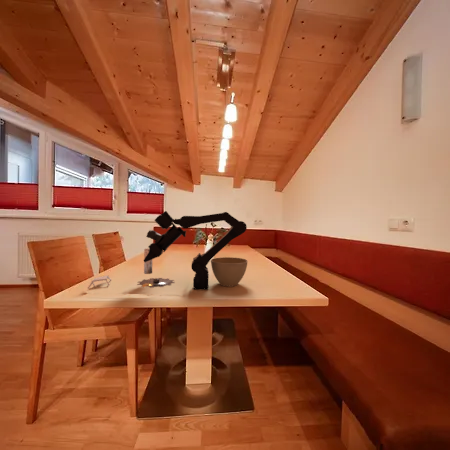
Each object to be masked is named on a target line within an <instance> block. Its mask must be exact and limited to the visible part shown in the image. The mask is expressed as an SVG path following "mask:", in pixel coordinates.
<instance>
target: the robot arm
mask: <svg viewBox="0 0 450 450" xmlns="http://www.w3.org/2000/svg"><path fill="white" fill-rule="evenodd" d="M222 221H224V222H225V223H227V224H228V225H229V226H230V227H229V229H228V230H227V232H226V233H225V234H224V235H223V236H222V237H221V238H220V239H219V240H218V241H217V242H215V243H214V244H213V245H211V247H210V248H209V249H208V250H207V251H205V252H203V254H201V252H198V254H197V255H196V256H195V257H193V258H192V261H191V270H192V271H193V272H194V273H195V274H194V276H193V283H192V285H193V290H209V280H210V279H209V268H208V267H207V265H208V264H209V263H210V262H211V259H214V258H215V256H216V255H217V254H218V253H219V252H220V251H221V250H223V248H225V247H227V245H228V244H229V243H230V242H232V240H234V239H235V238H237V237H240V236H241V235H243V234H244V233H245V232H247V230H248V229H247V228H248V227H247V224H246V223H245V222H244V221H242V220H241V221H240V220H238V219H237V218H236V217H234V216H232V215H231V214H230V213H229V212H227V211H224V212H220V213H213V214H207V215H206V214H205V215H183V216H181V217H180V218H173V217H172V216H171V215H170V214H169V212H168V211H166V210H165V211H164V212H162V213H161V214H159V215H158V216H157V217H155V219H154V222H155V223H156V224H157V225H158V226H159V227H160V228H161V229H162V230H166V232H164V233H162V234H160V233H158V232H157V231H155V230H154V229H149V230H148V232H147V233H146V235H145V236H146V237H145V238H147V239H150V240H151V239H152V240H153V241H154V242H152V243H150V244H149V245H148V247H147V248H148V249H150V251H149V253H148V254H147V256H146V257H145V259H144V258H143V263H144V262H147V261H149V260H152V261H153V260H154V259H156V258H159V257H160V256H162V255H163V253H165V252H166V251H167V250H168V248H170V246H172V245H173V243H175V242H176V241H177V240H178V239H179V238H180V237H181V236H182V237H184V238H186V236H187V230H184V229H188V228H189V229H190V228H192V227H196V226H198V225H202V224H210V223H216V222H222ZM177 225H178V226H177Z"/></svg>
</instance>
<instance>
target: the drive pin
mask: <svg viewBox="0 0 450 450" xmlns="http://www.w3.org/2000/svg"><path fill="white" fill-rule="evenodd" d="M143 250H144V251H143V252H144V253H143V254H144V255H143V260H144V259H145V257H146V256H147V254H148V253H149V251H150V248H144V249H143ZM143 274H144V275H151V274H153V259H152V260H149V261H147V262H144V261H143Z"/></svg>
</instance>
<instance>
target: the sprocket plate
mask: <svg viewBox="0 0 450 450" xmlns="http://www.w3.org/2000/svg"><path fill="white" fill-rule="evenodd" d="M175 283H176V282H175V280H174V279H170V278H163V277H158V278H157V277H155V278H153V277H151V278H149V279H142V280H141V281H137V286H141V287H143V288H144V287H146V288H147V287H149V288H152V289H153V288H157V287H158V288H164V287H165V286H172V284H175Z"/></svg>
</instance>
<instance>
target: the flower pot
mask: <svg viewBox="0 0 450 450" xmlns="http://www.w3.org/2000/svg"><path fill="white" fill-rule="evenodd" d="M210 263H211V264H210V266H211V269H212V273H213V276H214V277H215V279H216V280H217V282H218V283H219V284H220V285H221V286H224V287H235V286H237V285H239V283H240V282H241V281H242V279H243V278H244V277H245V276H244V275H245V273H246V270H247V266H248V260H247V259H245V258H241V257H229V256H228V257H226V256H224V257H213V258H211V260H210Z"/></svg>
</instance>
